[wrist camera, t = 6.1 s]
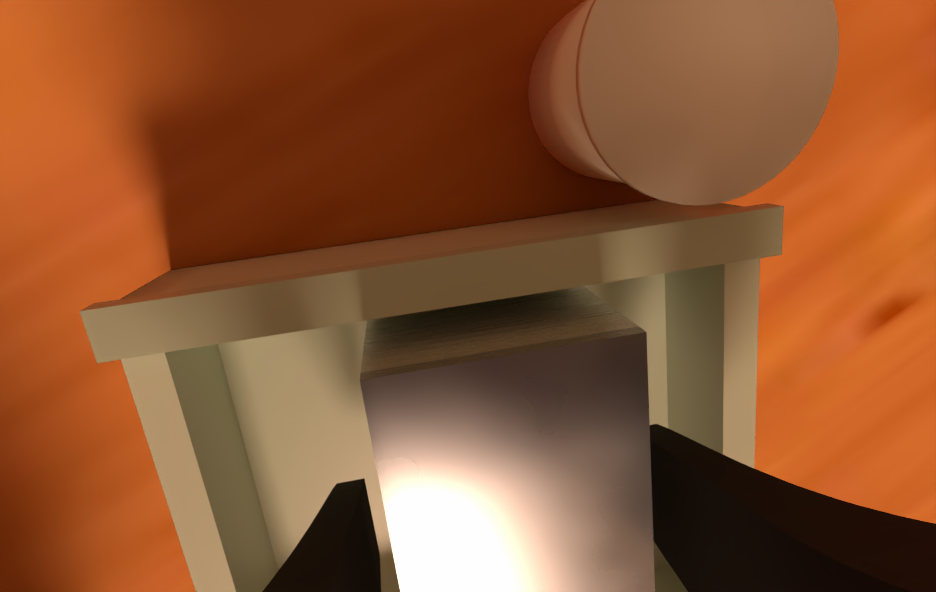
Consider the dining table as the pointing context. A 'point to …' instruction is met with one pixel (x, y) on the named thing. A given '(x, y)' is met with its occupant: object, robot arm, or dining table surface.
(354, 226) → the dining table surface
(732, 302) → the tote
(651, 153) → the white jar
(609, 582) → the tea tin
